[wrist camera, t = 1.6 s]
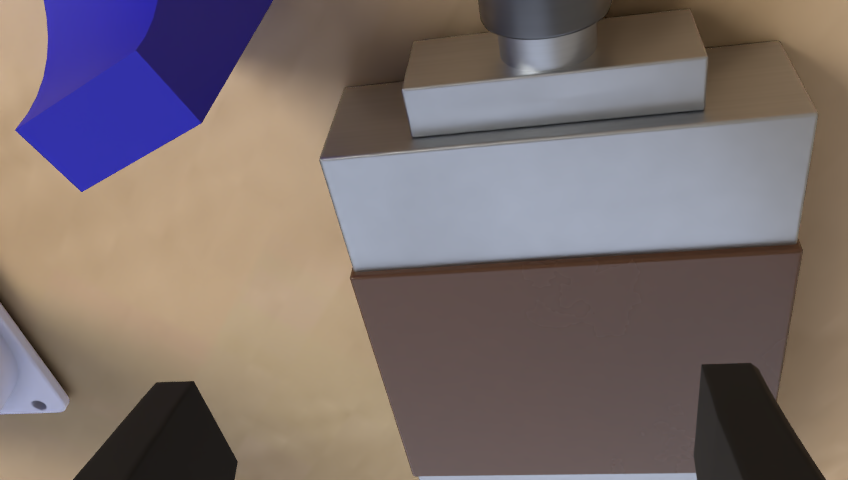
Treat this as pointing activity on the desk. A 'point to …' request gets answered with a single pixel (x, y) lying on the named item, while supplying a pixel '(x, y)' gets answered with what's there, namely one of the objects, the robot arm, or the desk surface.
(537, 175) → the brown slab with knob
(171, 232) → the desk surface
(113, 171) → the cable clip
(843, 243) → the desk surface
